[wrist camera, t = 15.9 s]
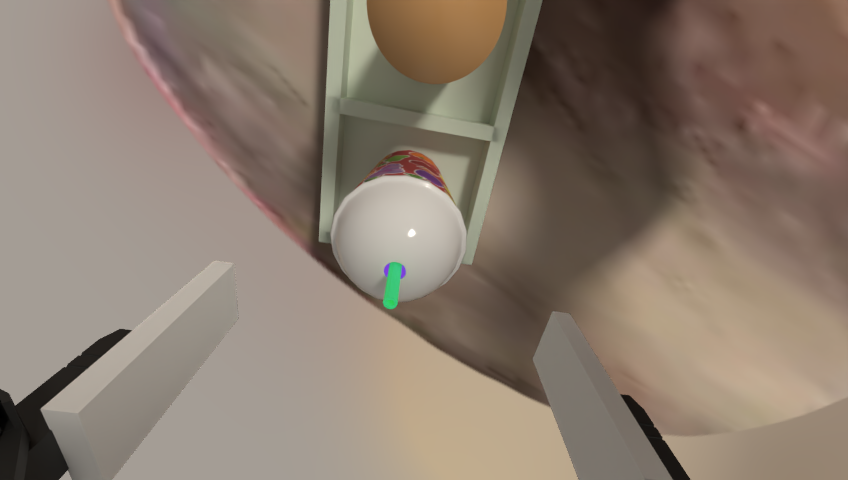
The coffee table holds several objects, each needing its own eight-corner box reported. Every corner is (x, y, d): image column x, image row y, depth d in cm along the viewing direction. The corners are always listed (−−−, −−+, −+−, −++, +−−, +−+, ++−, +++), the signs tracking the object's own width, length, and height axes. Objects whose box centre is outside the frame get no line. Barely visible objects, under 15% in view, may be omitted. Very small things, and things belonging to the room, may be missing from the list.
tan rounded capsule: (397, -14, 26) (374, -102, 14) (476, 3, 27) (524, -66, 14) (387, 75, 29) (360, 70, 16) (459, 89, 30) (487, 95, 17)
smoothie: (384, 232, 35) (346, 389, 17) (350, 157, 32) (258, 253, 14) (460, 206, 34) (504, 345, 16) (433, 125, 31) (450, 186, 13)
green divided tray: (345, -79, 26) (335, -101, 22) (540, -35, 27) (556, -50, 24) (327, 227, 36) (318, 241, 33) (467, 249, 37) (471, 264, 34)
